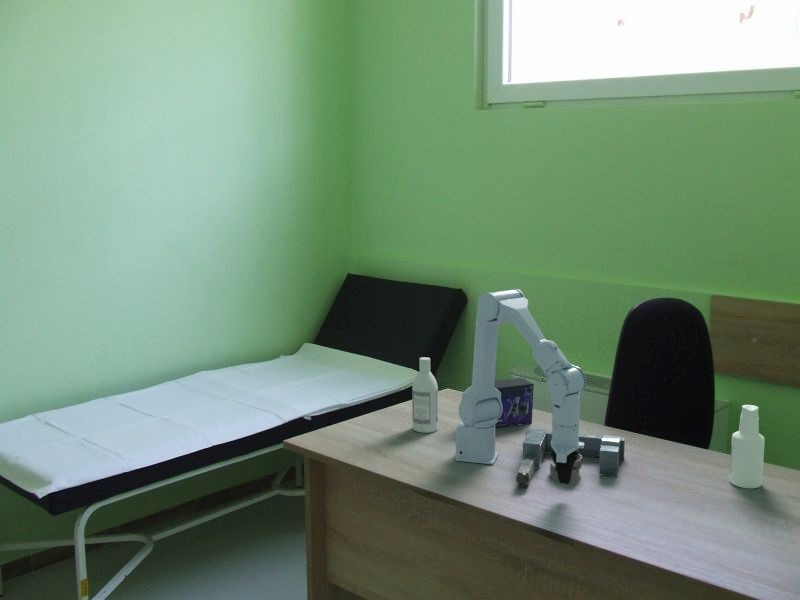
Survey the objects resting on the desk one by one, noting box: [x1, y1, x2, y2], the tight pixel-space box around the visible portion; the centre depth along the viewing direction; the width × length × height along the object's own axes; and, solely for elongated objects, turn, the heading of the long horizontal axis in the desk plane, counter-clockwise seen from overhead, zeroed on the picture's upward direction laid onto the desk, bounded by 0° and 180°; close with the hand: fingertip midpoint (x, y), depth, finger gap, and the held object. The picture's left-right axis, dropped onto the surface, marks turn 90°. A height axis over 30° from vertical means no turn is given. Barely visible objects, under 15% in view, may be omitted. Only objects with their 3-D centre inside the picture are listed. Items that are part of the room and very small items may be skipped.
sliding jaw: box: [515, 428, 547, 487], centre depth 196 cm, size 4×24×6 cm, turn 163°
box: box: [469, 377, 535, 429], centre depth 229 cm, size 17×7×12 cm, turn 111°
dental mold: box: [549, 454, 583, 485], centre depth 192 cm, size 8×7×5 cm
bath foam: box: [411, 356, 439, 434], centre depth 225 cm, size 7×7×20 cm
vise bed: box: [525, 428, 626, 477], centre depth 201 cm, size 24×13×7 cm, turn 72°
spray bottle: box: [729, 404, 766, 489], centre depth 186 cm, size 7×7×18 cm
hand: (564, 482), depth 180 cm, fingers closed
